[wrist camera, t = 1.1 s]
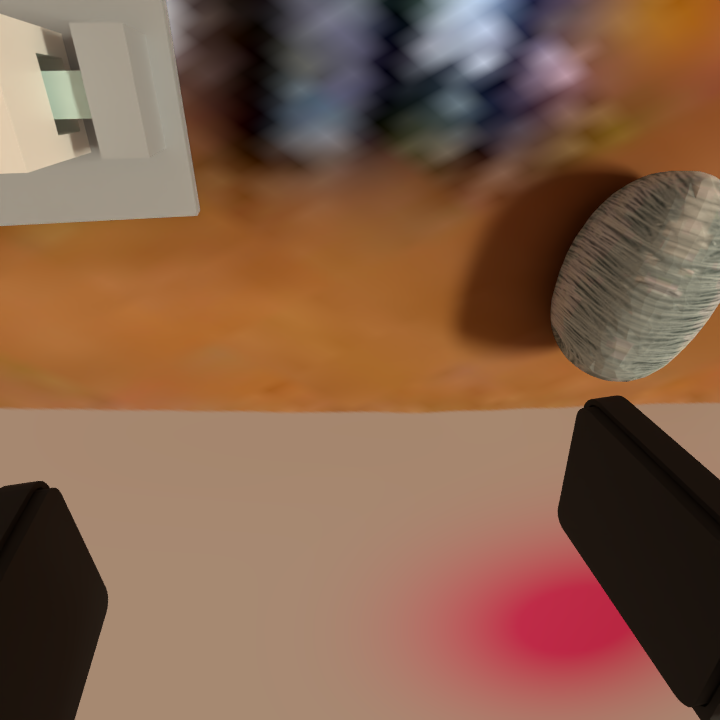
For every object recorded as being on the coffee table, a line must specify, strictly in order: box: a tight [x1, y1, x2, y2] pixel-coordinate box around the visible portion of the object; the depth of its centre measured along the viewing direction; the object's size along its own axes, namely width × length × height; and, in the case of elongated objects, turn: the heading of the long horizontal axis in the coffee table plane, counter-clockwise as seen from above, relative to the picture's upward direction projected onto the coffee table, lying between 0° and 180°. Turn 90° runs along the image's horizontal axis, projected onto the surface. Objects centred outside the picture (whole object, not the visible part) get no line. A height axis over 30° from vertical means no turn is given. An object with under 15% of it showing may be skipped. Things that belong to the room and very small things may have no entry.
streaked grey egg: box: [551, 171, 720, 382], centre depth 32 cm, size 14×10×10 cm
